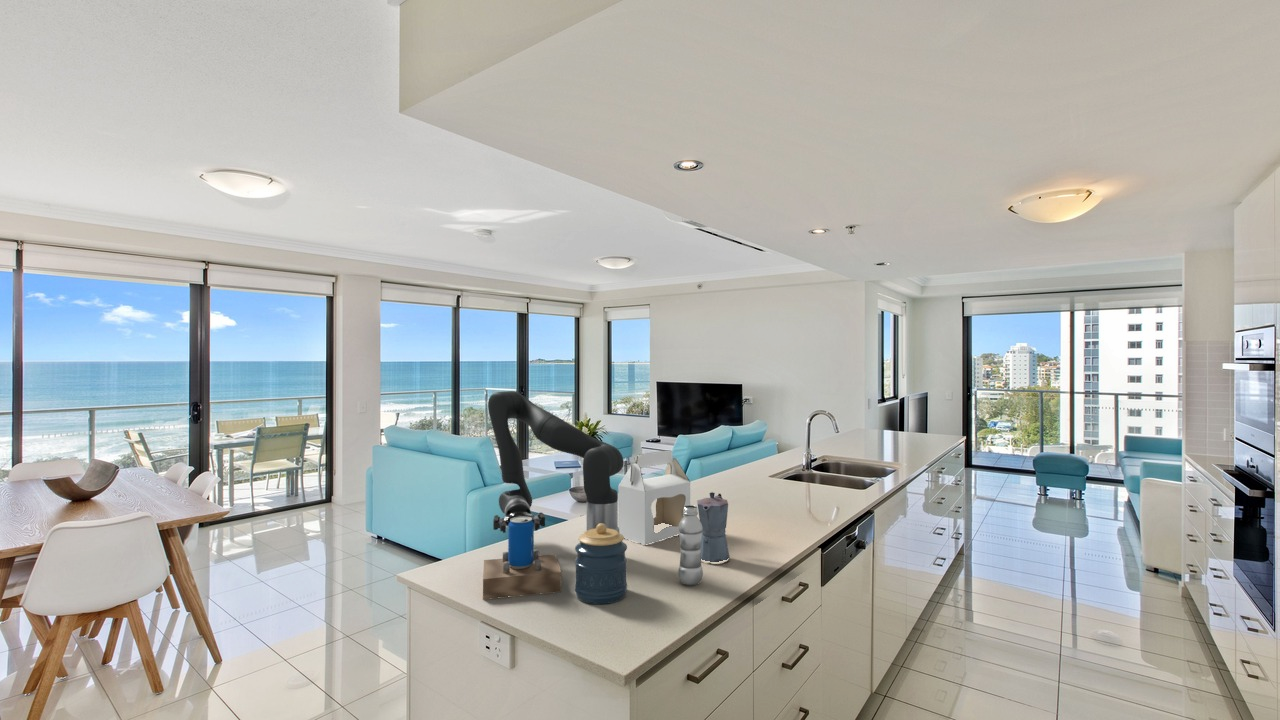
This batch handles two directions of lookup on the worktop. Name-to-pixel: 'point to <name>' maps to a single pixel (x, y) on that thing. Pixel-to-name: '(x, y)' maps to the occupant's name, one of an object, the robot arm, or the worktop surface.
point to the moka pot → (713, 528)
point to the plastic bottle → (690, 547)
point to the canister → (601, 566)
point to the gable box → (652, 498)
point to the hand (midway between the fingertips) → (520, 528)
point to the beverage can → (521, 542)
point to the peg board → (521, 577)
